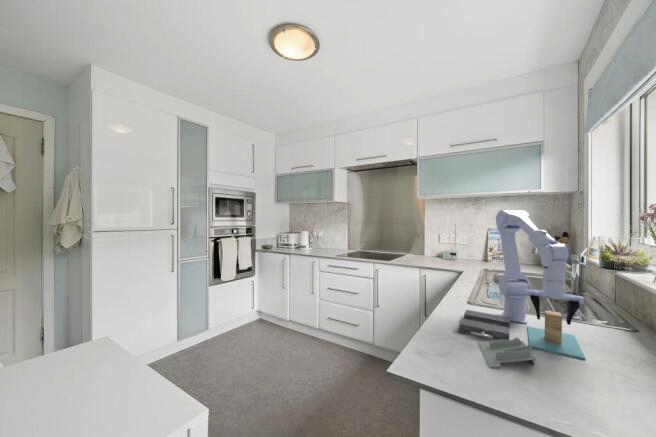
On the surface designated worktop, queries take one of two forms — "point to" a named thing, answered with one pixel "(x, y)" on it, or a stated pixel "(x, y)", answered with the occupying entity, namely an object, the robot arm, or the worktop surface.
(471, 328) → the vise
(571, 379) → the worktop surface
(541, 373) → the worktop surface
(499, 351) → the metal bracket
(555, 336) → the oak peg
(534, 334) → the teal mat
